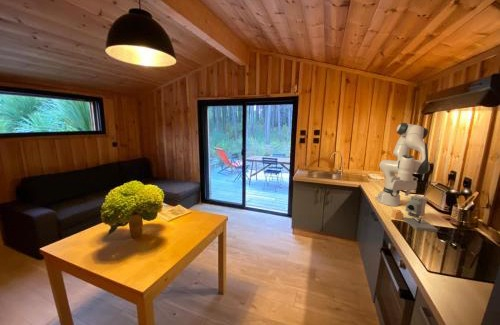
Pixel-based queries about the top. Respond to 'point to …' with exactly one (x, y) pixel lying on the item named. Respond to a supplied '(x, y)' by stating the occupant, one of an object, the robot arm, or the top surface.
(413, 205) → the circuit breaker
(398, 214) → the wire nut
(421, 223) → the junction plate
